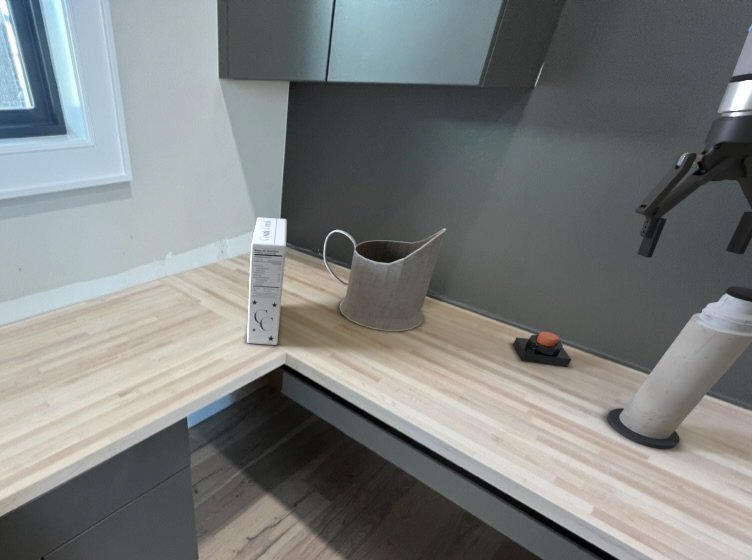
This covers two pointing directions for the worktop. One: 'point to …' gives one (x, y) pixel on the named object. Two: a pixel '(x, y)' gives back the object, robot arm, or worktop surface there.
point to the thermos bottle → (692, 365)
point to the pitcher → (389, 281)
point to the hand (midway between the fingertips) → (688, 254)
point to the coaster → (647, 441)
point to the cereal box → (266, 280)
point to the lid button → (547, 339)
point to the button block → (541, 352)
